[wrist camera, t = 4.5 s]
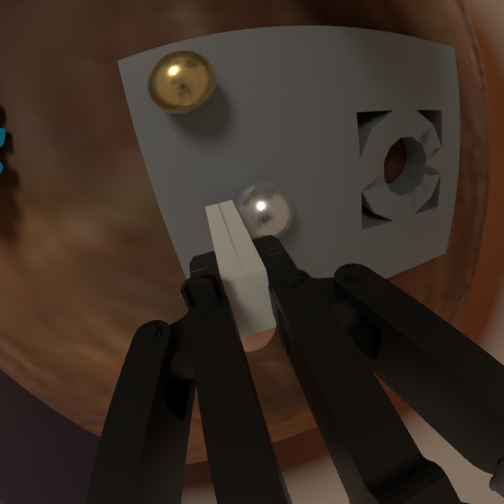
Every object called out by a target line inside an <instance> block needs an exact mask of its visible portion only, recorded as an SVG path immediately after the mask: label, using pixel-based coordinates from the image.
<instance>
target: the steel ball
mask: <svg viewBox="0 0 504 504" xmlns="http://www.w3.org/2000/svg"><path fill="white" fill-rule="evenodd" d="M235 207H236V209H237V211H238V213H239V215H240V217H241V219H242V221H243V223H244V226H245V228H246V230H247V232H248V234H249V236H250V237H252V238H254V239H256V238H259V237H263V236H267V235H272V236H274V237H276V238H277V237H279V236H281V235H282V234H283V233H284V232H285V231H286V230H287V229H288V228H289V226H290V225H291V222H292V220H293V216H294V206H293V202H292V199H291V197H290V195H289V194H288V193H287V191H286V190H285V189H284V188H282V187H281V186H279V185H278V184H276V183H273V182H268V181H260V182H255V183H253V184H251V185H249V186H247V187H246V188H245V189H243V191H242V192H241V193H240V194H239V196H238V198H237V200H236V203H235Z"/></svg>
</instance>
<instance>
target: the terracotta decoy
mask: <svg viewBox="0 0 504 504" xmlns="http://www.w3.org/2000/svg"><path fill="white" fill-rule="evenodd" d="M275 322H276V321H275ZM275 330H276V327H275V328H271V329H268V330H265V331H262V332H258V333H254V334H251V335H248V336H244V337H240V338H241V342H242V345H243V348H244V351H245V352H253V351H256V350H259V349H261V348H263V347H264V346H266V345H267V344H268V343H269V342H270V340H271V339H272V338H273V336H274V333H275Z"/></svg>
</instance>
